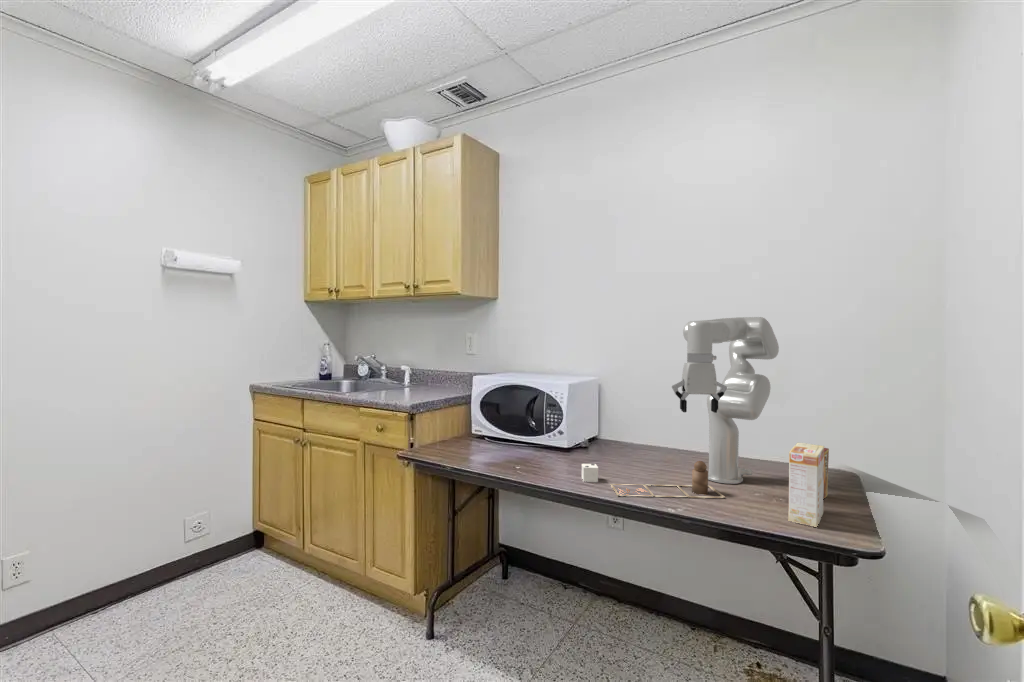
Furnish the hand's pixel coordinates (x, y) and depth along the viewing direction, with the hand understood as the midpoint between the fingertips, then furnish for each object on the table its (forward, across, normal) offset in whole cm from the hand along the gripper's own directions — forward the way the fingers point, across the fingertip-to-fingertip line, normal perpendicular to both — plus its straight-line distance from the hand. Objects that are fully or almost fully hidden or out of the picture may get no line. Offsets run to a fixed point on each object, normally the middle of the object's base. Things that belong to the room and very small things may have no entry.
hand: (698, 411), depth 152 cm
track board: (+26, +11, +1) cm, 28 cm away
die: (+26, +34, -10) cm, 44 cm away
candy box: (+27, -36, +3) cm, 45 cm away
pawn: (+26, 0, +1) cm, 26 cm away
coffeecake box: (+26, -23, +20) cm, 40 cm away
